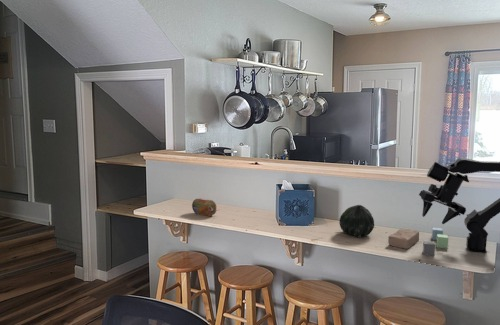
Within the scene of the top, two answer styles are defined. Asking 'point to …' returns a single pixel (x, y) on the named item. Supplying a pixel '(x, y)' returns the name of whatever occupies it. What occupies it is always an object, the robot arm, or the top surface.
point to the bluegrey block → (436, 232)
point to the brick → (403, 238)
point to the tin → (204, 207)
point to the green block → (442, 241)
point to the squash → (357, 221)
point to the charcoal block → (429, 248)
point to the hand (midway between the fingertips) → (432, 220)
